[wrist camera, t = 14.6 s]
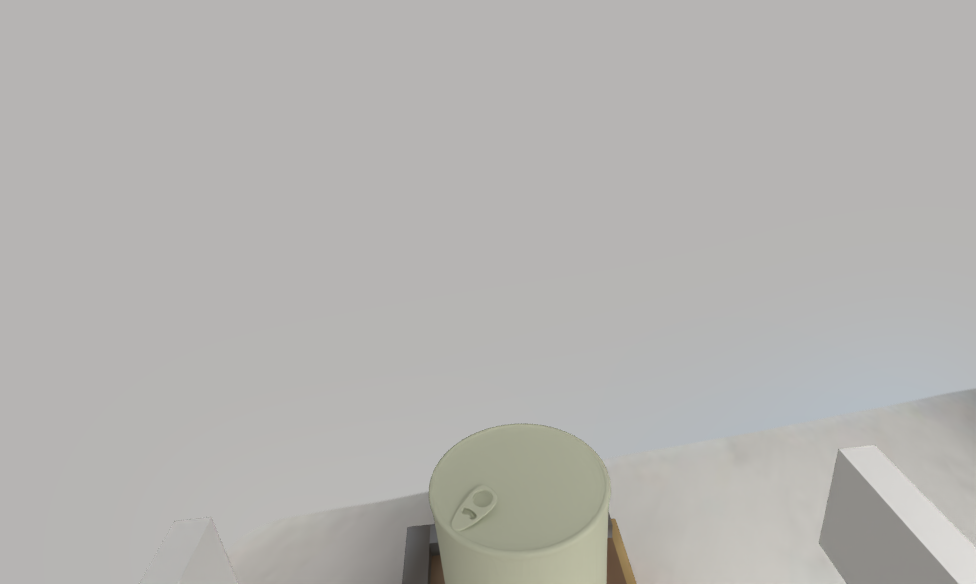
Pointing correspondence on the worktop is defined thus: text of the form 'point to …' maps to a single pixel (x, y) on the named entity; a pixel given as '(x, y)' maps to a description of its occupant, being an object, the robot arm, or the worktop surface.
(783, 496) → the worktop surface
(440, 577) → the brown wooden tray
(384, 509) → the worktop surface
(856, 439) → the worktop surface
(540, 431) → the can
